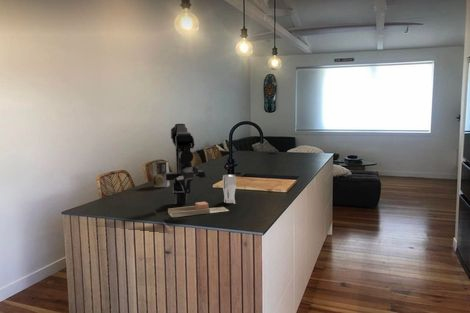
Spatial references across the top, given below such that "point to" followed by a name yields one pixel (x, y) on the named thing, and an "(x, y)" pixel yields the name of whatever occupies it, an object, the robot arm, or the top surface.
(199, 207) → the block
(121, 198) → the top surface
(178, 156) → the robot arm
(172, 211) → the beige open frame tray
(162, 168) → the coffee box
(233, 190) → the beer glass
